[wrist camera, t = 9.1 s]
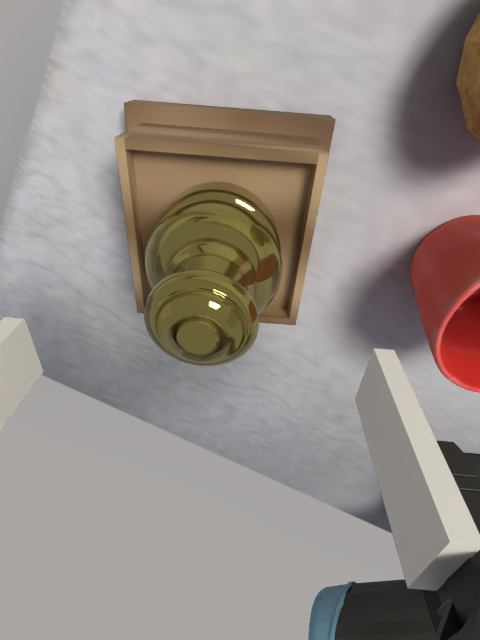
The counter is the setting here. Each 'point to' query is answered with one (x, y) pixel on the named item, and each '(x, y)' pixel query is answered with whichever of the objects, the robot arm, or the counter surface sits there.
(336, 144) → the counter surface
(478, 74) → the potato
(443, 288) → the flower pot
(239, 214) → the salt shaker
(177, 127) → the brown wooden square box
